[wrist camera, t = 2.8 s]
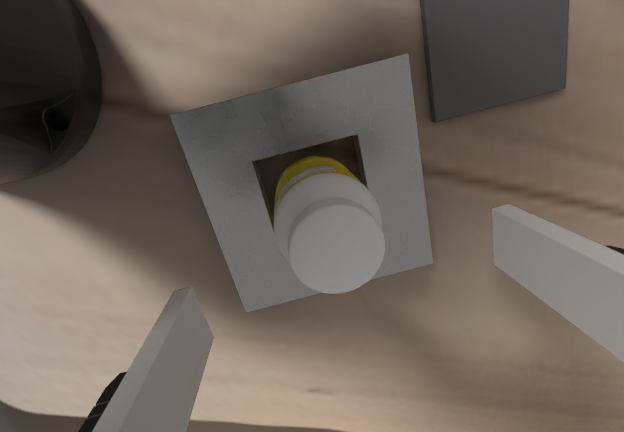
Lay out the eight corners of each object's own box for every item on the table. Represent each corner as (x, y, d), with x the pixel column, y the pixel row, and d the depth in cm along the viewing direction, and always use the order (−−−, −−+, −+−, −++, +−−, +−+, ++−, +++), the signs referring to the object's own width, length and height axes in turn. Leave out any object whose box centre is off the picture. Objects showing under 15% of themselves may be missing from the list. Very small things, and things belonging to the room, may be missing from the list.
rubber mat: (432, 121, 24) (435, 122, 24) (416, -34, 21) (420, -38, 20) (558, 88, 24) (565, 88, 24) (564, -72, 21) (572, -77, 20)
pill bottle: (360, 215, 26) (411, 288, 16) (288, 236, 26) (294, 323, 16) (342, 141, 24) (389, 172, 14) (265, 165, 24) (253, 212, 14)
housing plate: (248, 298, 28) (245, 312, 26) (178, 114, 22) (169, 115, 21) (423, 252, 28) (433, 263, 26) (397, 57, 22) (408, 53, 21)
